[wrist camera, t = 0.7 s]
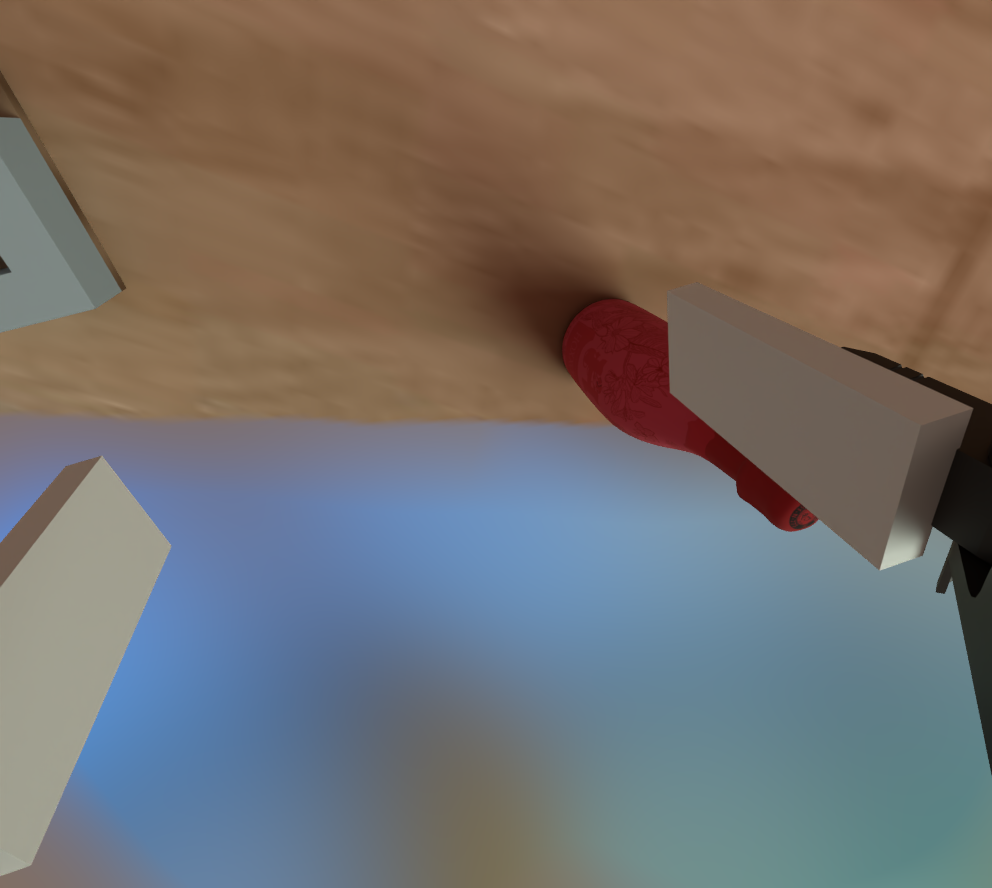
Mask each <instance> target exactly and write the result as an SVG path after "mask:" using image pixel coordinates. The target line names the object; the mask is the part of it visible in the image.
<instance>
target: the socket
mask: <svg viewBox="0 0 992 888" xmlns="http://www.w3.org/2000/svg"><path fill="white" fill-rule="evenodd" d="M0 256H1V257H2V259H3V260H4V262H5V263H6V265H7V266H8V268H4V269H0V333H1V332H5V331H9V330H13V329H16V328H20V327H24V326H28V325H32V324H36V323H40V322H44V321H48V320H52V319H56V318H60V317H64V316H68V315H72V314H76V313H80V312H84V311H88V310H92V309H96V308H97V307H99V306H100V305H102V304H103V303H105V302H106V301H108V300H109V299H111V298H112V297H114V296H115V295H117V294H118V293H120V292H121V289H120V287H119V286H118V284H117V282H116V281H115V279H114V277H113V275H112V274H111V272H110V270H109V269H108V267H107V265H106V264H105V262H104V260H103V258H102V257H101V255H100V253H99V252H98V250H97V248H96V247H95V245H94V243H93V241H92V240H91V238H90V236H89V235H88V233H87V231H86V229H85V228H84V226H83V224H82V223H81V221H80V219H79V218H78V216H77V214H76V212H75V211H74V209H73V207H72V206H71V204H70V202H69V201H68V199H67V197H66V195H65V194H64V192H63V190H62V189H61V187H60V185H59V183H58V182H57V180H56V178H55V177H54V175H53V173H52V172H51V170H50V168H49V166H48V165H47V163H46V161H45V160H44V158H43V156H42V155H41V153H40V151H39V149H38V148H37V146H36V144H35V143H34V141H33V139H32V137H31V136H30V134H29V132H28V131H27V129H26V127H25V126H24V124H23V122H22V120H21V119H20V118H6V117H0Z"/></svg>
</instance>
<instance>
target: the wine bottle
mask: <svg viewBox="0 0 992 888" xmlns="http://www.w3.org/2000/svg"><path fill="white" fill-rule="evenodd" d="M562 354H563V360H564V364H565V366H566V368H567V370H568V372H569V374H570V375H571V376H572V378H573V379H574V381H575V382H576V383H577V385H578V386H579V387H580V388H581V390H582V391H583V392H584V393H585V395H586V396H587V397H588V398H589V399H590V401H591V402H592V403H593V404H594V405H595V407H596V408H597V409H598V410H599V411H600V412H601V413H602V414H603V415H604V416H605V417H606V418H607V419H608V420H609V421H610V422H611V423H612V424H613V425H614V426H616V427H617V428H618V429H620V430H621V431H623V432H625V433H627V434H628V435H630V436H632V437H634V438H637V439H639V440H642V441H645V442H647V443H651V444H654V445H658V446H662V447H667V448H673V449H678V450H682V451H686V452H690V453H694V454H696V455H699V456H701V457H703V458H704V459H706V460H708V461H710V462H711V463H712V464H714V465H715V466H717V467H718V468H719V469H721V470H722V471H723V472H725V473H726V474H727V475H728V476H730V477H731V478H732V479H734V480H735V481H736V486H737V493H738V495H739V497H740V498H742V499H743V500H745V501H746V502H748V503H749V504H751V505H752V506H753V507H754V508H756V509H757V510H758V511H759V512H761V513H762V514H763V515H764V516H765V517H766V518H767V519H768V520H769V521H770V522H771V523H772V524H773V525H775V526H776V527H778V528H779V529H781V530H785V531H790V532H792V531H798V530H802V529H805V528H808V527H810V526H812V525H813V524H814V523H816V521H817V520H818V518H817V517H816V516H815V515H814V514H812V513H811V512H810V511H809V510H808V509H807V508H805V507H804V506H803V505H802V504H801V503H799V502H798V501H797V500H796V499H795V498H794V497H792V496H791V495H790V494H789V493H788V492H786V491H785V490H784V489H783V488H782V487H781V486H779V485H778V484H777V483H776V482H775V481H773V480H772V479H771V478H770V477H769V476H768V475H766V474H765V473H764V472H763V471H762V470H761V469H759V468H758V467H757V466H756V465H755V464H753V463H752V462H751V461H750V460H749V459H748V458H746V457H745V456H744V455H743V454H742V453H740V452H739V451H738V450H737V449H736V448H735V447H733V446H732V445H731V444H730V443H729V442H727V441H726V440H725V439H724V438H723V437H722V436H720V435H719V434H718V433H717V432H716V431H715V430H713V429H712V428H711V427H710V426H709V425H707V424H706V423H705V422H704V421H703V420H702V419H700V418H699V417H698V416H697V415H696V414H694V413H693V412H692V411H691V410H690V409H689V408H687V407H686V406H685V405H684V404H683V403H681V402H680V401H679V400H678V399H677V398H676V397H674V396H673V395H672V394H671V393H670V379H669V344H668V323H667V322H666V321H664V320H662V319H660V318H659V317H657V316H655V315H653V314H652V313H650V312H648V311H646V310H644V309H642V308H640V307H638V306H636V305H634V304H632V303H630V302H627V301H624V300H620V299H606V300H601V301H598V302H595V303H593V304H591V305H589V306H587V307H586V308H584V309H583V310H582V311H581V312H579V313H578V314H577V315H576V316H575V318H574V319H573V320H572V322H571V323H570V325H569V326H568V328H567V330H566V333H565V336H564V339H563V345H562Z"/></svg>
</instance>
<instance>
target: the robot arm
mask: <svg viewBox="0 0 992 888" xmlns="http://www.w3.org/2000/svg"><path fill="white" fill-rule="evenodd" d="M667 308H668V344H669V379H670V393H671V394H672V395H673V396H674V397H676V398H677V399H678V400H679V401H680V402H681V403H683V404H684V405H685V406H686V407H687V408H689V409H690V410H691V411H692V412H693V413H694V414H696V415H697V416H698V417H699V418H700V419H702V420H703V421H704V422H705V423H706V424H707V425H709V426H710V427H711V428H712V429H713V430H715V431H716V432H717V433H718V434H719V435H720V436H722V437H723V438H724V439H725V440H726V441H727V442H729V443H730V444H731V445H732V446H733V447H735V448H736V449H737V450H738V451H739V452H740V453H742V454H743V455H744V456H745V457H746V458H748V459H749V460H750V461H751V462H752V463H753V464H755V465H756V466H757V467H758V468H759V469H761V470H762V471H763V472H764V473H765V474H766V475H768V476H769V477H770V478H771V479H772V480H773V481H775V482H776V483H777V484H778V485H779V486H781V487H782V488H783V489H784V490H785V491H786V492H788V493H789V494H790V495H791V496H792V497H794V498H795V499H796V500H797V501H798V502H799V503H801V504H802V505H803V506H804V507H805V508H807V509H808V510H809V511H810V512H811V513H812V514H814V515H815V516H816V517H817V518H818V519H819V520H821V521H822V522H823V523H824V524H825V525H827V526H828V527H829V528H830V529H831V530H833V531H834V532H835V533H836V534H837V535H838V536H840V537H841V538H842V539H843V540H844V541H845V542H847V543H848V544H849V545H851V547H853V548H854V549H855V550H856V551H857V552H858V553H860V554H861V555H862V556H863V557H864V558H865V559H867V560H868V561H869V562H870V563H871V564H873V565H874V566H875V567H876V568H877V569H878V570H882V569H885V568H888V567H891V566H894V565H897V564H900V563H903V562H905V561H908V560H911V559H914V558H917V557H920V556H922V555H923V553H924V550H925V547H926V544H927V542H928V539H929V536H930V533H931V529H932V527H935V528H936V529H937V530H939V531H940V532H942V533H943V534H945V535H946V536H948V537H949V538H950V539H952V540H953V542H952V545H951V548H950V550H949V553H948V556H947V558H946V561H945V563H944V566H943V569H942V571H941V574H940V577H939V579H938V582H937V587H936V592H937V593H943V594H944V593H945V592H946V589H947V587H948V584H949V582H951V581H953V585H954V589H955V595H956V600H957V605H958V610H959V615H960V620H961V625H962V630H963V634H964V640H965V644H966V650H967V654H968V660H969V664H970V670H971V675H972V679H973V684H974V689H975V694H976V699H977V704H978V709H979V714H980V719H981V724H982V729H983V734H984V739H985V744H986V749H987V754H988V759H989V764H990V769H991V774H992V404H990V403H988V402H985V401H983V400H981V399H978V398H976V397H974V396H972V395H969V394H967V393H965V392H962V391H960V390H958V389H956V388H953V387H951V386H949V385H946V384H944V383H942V382H940V381H937V380H935V379H933V378H930V377H926V378H924V377H923V374H921V373H919V372H917V371H914V370H912V369H910V368H907V367H905V368H902V367H901V364H898V363H896V362H894V361H891V360H889V359H887V358H885V357H882V356H880V355H878V354H875V353H871V352H866V351H861V350H856V349H852V348H847V347H841V348H840V347H838V346H836V345H834V344H831V343H829V342H827V341H825V340H823V339H820V338H818V337H816V336H814V335H812V334H809V333H807V332H805V331H803V330H801V329H798V328H796V327H794V326H792V325H790V324H788V323H785V322H783V321H781V320H779V319H777V318H774V317H772V316H770V315H768V314H766V313H763V312H761V311H759V310H757V309H755V308H752V307H750V306H748V305H746V304H744V303H742V302H739V301H737V300H735V299H733V298H731V297H728V296H726V295H724V294H722V293H720V292H717V291H715V290H713V289H711V288H709V287H706V286H704V285H702V284H700V283H698V282H696V283H693V284H689V285H686V286H683V287H679V288H676V289H672V290H669V291H667ZM170 548H171V545H170V543H169V542H168V541H167V540H166V538H165V537H164V536H163V534H162V533H161V532H160V530H159V529H158V528H157V527H156V525H155V524H154V523H153V521H152V520H151V519H150V517H149V516H148V515H147V514H146V512H145V511H144V510H143V508H142V507H141V506H140V504H139V503H138V502H137V501H136V499H135V498H134V497H133V495H132V494H131V493H130V491H129V490H128V489H127V488H126V486H125V485H124V484H123V483H122V481H121V480H120V479H119V477H118V476H117V475H116V473H115V472H114V471H113V470H112V468H111V467H110V466H109V464H108V463H107V462H106V461H105V459H104V458H103V457H102V456H99V457H96V458H93V459H89V460H86V461H83V462H79V463H76V464H72V465H69V466H66V467H65V468H64V469H63V470H62V471H61V473H60V474H59V475H58V476H57V477H56V478H55V480H54V481H53V482H52V483H51V484H50V485H49V487H48V488H47V489H46V490H45V491H44V492H43V494H42V495H41V496H40V497H39V498H38V500H37V501H36V502H35V503H34V504H33V505H32V507H31V508H30V509H29V510H28V511H27V512H26V514H25V515H24V516H23V517H22V518H21V519H20V521H19V522H18V523H17V524H16V525H15V527H14V528H13V529H12V530H11V531H10V533H8V535H7V536H6V537H5V538H4V539H3V541H2V542H1V543H0V876H2V875H4V874H7V873H10V872H13V871H16V870H19V869H21V868H25V867H28V866H30V865H31V864H32V862H33V859H34V857H35V855H36V853H37V851H38V848H39V846H40V844H41V841H42V839H43V837H44V835H45V832H46V830H47V828H48V826H49V823H50V821H51V819H52V817H53V814H54V812H55V810H56V807H57V805H58V803H59V801H60V798H61V796H62V794H63V791H64V789H65V787H66V785H67V782H68V780H69V778H70V776H71V773H72V771H73V768H74V766H75V764H76V762H77V759H78V757H79V755H80V753H81V751H82V748H83V746H84V744H85V741H86V739H87V737H88V735H89V732H90V730H91V728H92V726H93V723H94V721H95V719H96V716H97V714H98V712H99V710H100V707H101V705H102V703H103V701H104V698H105V696H106V694H107V691H108V689H109V687H110V685H111V682H112V680H113V678H114V675H115V673H116V671H117V669H118V666H119V664H120V662H121V660H122V657H123V655H124V653H125V650H126V648H127V646H128V644H129V641H130V639H131V637H132V635H133V632H134V630H135V628H136V625H137V623H138V621H139V619H140V616H141V614H142V612H143V610H144V607H145V605H146V603H147V600H148V598H149V596H150V594H151V591H152V589H153V587H154V585H155V582H156V580H157V578H158V576H159V573H160V571H161V569H162V566H163V564H164V562H165V560H166V557H167V555H168V553H169V551H170Z"/></svg>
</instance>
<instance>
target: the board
mask: <svg viewBox="0 0 992 888" xmlns="http://www.w3.org/2000/svg"><path fill="white" fill-rule="evenodd" d="M0 117H6V118H20V119H21V120H22V122H23V124H24V126H25V127H26V129H27V131H28V132H29V134H30V136H31V137H32V139H33V141H34V143H35V144H36V146H37V148H38V149H39V151H40V153H41V155H42V156H43V158H44V160H45V161H46V163H47V165H48V166H49V168H50V170H51V172H52V173H53V175H54V177H55V178H56V180H57V182H58V183H59V185H60V187H61V189H62V190H63V192H64V194H65V195H66V197H67V199H68V201H69V202H70V204H71V206H72V207H73V209H74V211H75V212H76V214H77V216H78V218H79V219H80V221H81V223H82V224H83V226H84V228H85V229H86V231H87V233H88V235H89V236H90V238H91V240H92V241H93V243H94V245H95V247H96V248H97V250H98V252H99V253H100V255H101V257H102V258H103V260H104V262H105V264H106V265H107V267H108V269H109V270H110V272H111V274H112V275H113V277H114V279H115V281H116V282H117V284H118V286H119V287H120V289H121V291H123V290H124V289H126V287H125V285H124V283H123V282H122V280H121V278H120V276H119V275H118V273H117V271H116V269H115V268H114V266H113V264H112V263H111V261H110V259H109V257H108V256H107V254H106V252H105V250H104V249H103V247H102V245H101V244H100V242H99V240H98V238H97V237H96V235H95V233H94V232H93V230H92V228H91V226H90V225H89V223H88V221H87V219H86V218H85V216H84V214H83V213H82V211H81V209H80V207H79V206H78V204H77V202H76V201H75V199H74V197H73V195H72V194H71V192H70V190H69V188H68V187H67V185H66V183H65V182H64V180H63V178H62V176H61V175H60V173H59V171H58V169H57V168H56V166H55V164H54V163H53V161H52V159H51V157H50V156H49V154H48V152H47V151H46V149H45V147H44V145H43V144H42V142H41V140H40V138H39V137H38V135H37V133H36V132H35V130H34V128H33V126H32V125H31V123H30V121H29V120H28V118H27V116H26V114H25V113H24V111H23V109H22V107H21V106H20V104H19V102H18V101H17V99H16V97H15V95H14V94H13V92H12V90H11V88H10V87H9V85H8V83H7V82H6V80H5V78H4V76H3V75H2V73H1V71H0ZM4 268H8V266H7V265H6V263H5V262H4V260H3V259H2V257H1V256H0V269H4Z"/></svg>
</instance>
